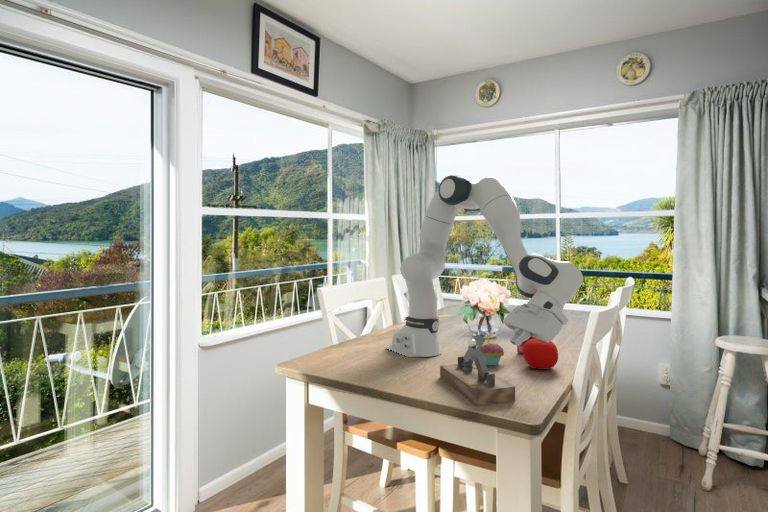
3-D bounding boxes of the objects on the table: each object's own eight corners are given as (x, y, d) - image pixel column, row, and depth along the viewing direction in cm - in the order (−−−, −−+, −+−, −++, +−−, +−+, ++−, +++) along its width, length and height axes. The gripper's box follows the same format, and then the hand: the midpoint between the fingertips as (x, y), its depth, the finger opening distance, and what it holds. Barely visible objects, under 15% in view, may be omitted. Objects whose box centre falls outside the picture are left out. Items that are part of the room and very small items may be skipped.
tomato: (549, 362, 159) (549, 333, 158) (564, 373, 147) (564, 342, 146) (518, 362, 158) (518, 334, 158) (530, 373, 146) (531, 342, 146)
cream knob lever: (485, 373, 128) (471, 336, 126) (491, 377, 125) (477, 339, 123) (479, 376, 127) (464, 340, 125) (485, 380, 124) (470, 343, 122)
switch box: (473, 374, 146) (473, 352, 145) (515, 400, 123) (515, 375, 122) (440, 377, 142) (440, 355, 142) (476, 405, 119) (477, 379, 119)
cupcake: (486, 368, 152) (486, 333, 152) (474, 361, 161) (475, 328, 160) (508, 366, 155) (508, 332, 154) (495, 359, 163) (496, 327, 162)
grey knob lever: (465, 364, 141) (483, 330, 142) (471, 367, 137) (489, 333, 138) (460, 360, 140) (478, 327, 141) (465, 364, 137) (484, 330, 138)
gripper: (516, 296, 139) (488, 329, 137) (559, 306, 120) (528, 345, 118) (528, 309, 141) (501, 342, 139) (572, 321, 121) (542, 360, 119)
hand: (513, 343), depth 128 cm, fingers closed
